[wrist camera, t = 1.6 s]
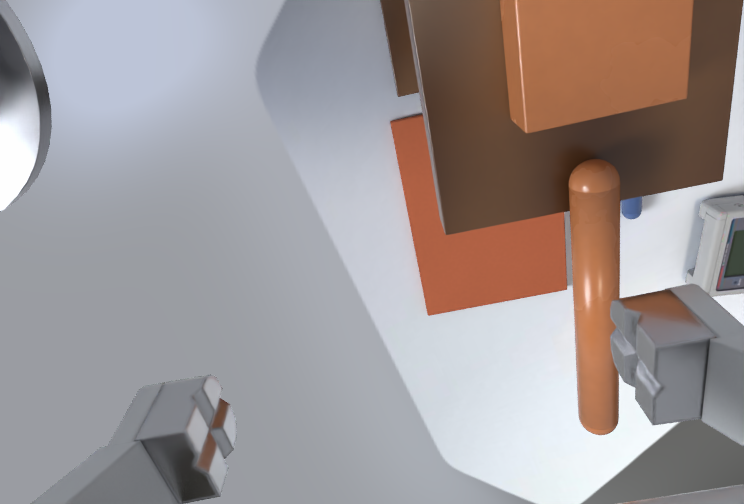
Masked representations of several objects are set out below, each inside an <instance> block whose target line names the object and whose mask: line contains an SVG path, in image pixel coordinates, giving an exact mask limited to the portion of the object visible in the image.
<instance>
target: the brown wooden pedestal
mask: <svg viewBox="0 0 744 504" xmlns="http://www.w3.org/2000/svg"><path fill="white" fill-rule="evenodd" d="M380 3H381V8H382V14H383V19H384V25H385V30H386V36H387V41H388V46H389V52H390V57H391V63H392V68H393V74H394V79H395V84H396V90H397V95H398V97H400V96H405V95H409V94H414V93H418V92H419V94H420V100H421V106H422V112H423V119H424V125H425V131H426V137H427V143H428V149H429V155H430V161H431V167H432V173H433V179H434V186H435V192H436V198H437V204H438V210H439V216H440V220H441V223H442V226H443V229H444V232H445V234H446V235H450V234H456V233H461V232H466V231H471V230H476V229H481V228H486V227H491V226H496V225H501V224H506V223H511V222H516V221H521V220H526V219H531V218H536V217H541V216H546V215H551V214H556V213H561V212H566V211H570V203H569V178H570V175H571V173H572V171H573V170H574V169H575V168H576V167H577V166H578V165H579V164H580V163H582V162H584V161H587V160H590V159H601V160H605V161H607V162H609V163H611V164H612V165H613V166H614V167H615V168H616V170H617V171H618V174H619V176H620V201H621V200H626V199H631V198H636V197H641V196H647V195H652V194H657V193H662V192H667V191H672V190H677V189H682V188H687V187H692V186H697V185H702V184H707V183H712V182H717V181H722V180H723V172H724V164H725V155H726V146H727V138H728V129H729V120H730V111H731V103H732V94H733V85H734V77H735V68H736V59H737V50H738V42H739V33H740V24H741V16H742V7H743V0H694V4H693V19H692V34H691V49H690V64H689V79H688V94H687V98H686V99H683V100H678V101H674V102H669V103H665V104H660V105H656V106H651V107H646V108H642V109H637V110H633V111H628V112H624V113H619V114H615V115H610V116H605V117H601V118H596V119H592V120H587V121H583V122H578V123H573V124H569V125H564V126H560V127H555V128H551V129H546V130H542V131H537V132H532V133H525V132H524V131H523V130H522V129H521V128H519V127H518V126H517V125H516V124H515V123H514V122H513V121H512V120H511V117H510V107H509V96H508V85H507V74H506V64H505V53H504V42H503V31H502V21H501V10H500V0H380Z"/></svg>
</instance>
